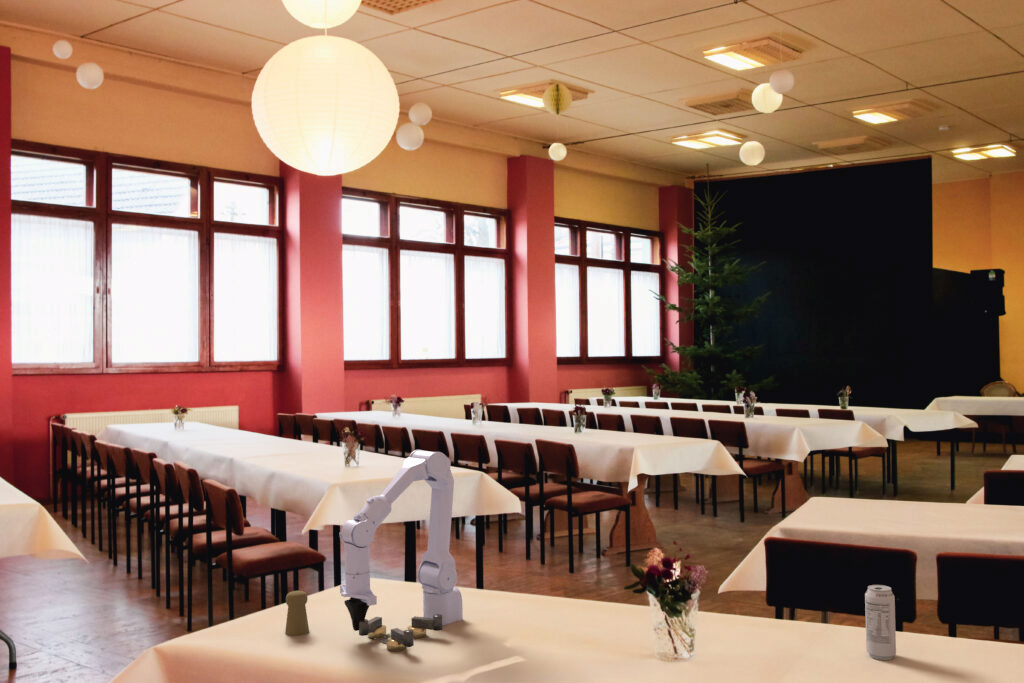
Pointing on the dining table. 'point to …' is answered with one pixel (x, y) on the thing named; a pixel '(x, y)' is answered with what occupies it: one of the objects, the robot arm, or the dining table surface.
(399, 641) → the knob
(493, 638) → the dining table surface
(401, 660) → the dining table surface
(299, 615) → the cork
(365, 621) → the knob
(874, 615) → the energy drink can
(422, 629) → the knob
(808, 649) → the dining table surface
